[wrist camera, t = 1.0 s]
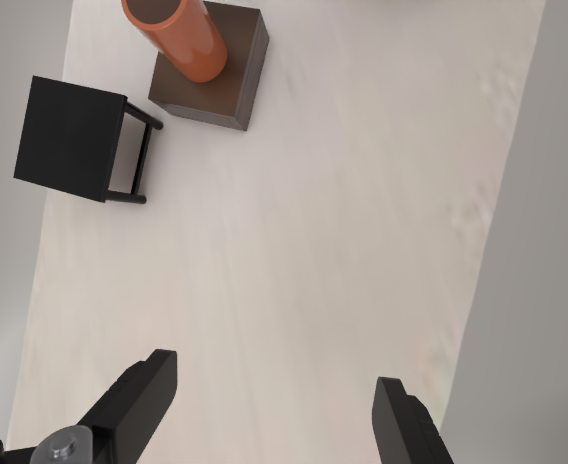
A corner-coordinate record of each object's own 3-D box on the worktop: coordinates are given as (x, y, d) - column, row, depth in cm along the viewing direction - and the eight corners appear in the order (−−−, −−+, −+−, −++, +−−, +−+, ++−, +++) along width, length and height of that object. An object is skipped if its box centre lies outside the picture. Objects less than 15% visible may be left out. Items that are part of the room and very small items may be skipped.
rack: (90, 104, 41) (32, 75, 33) (165, 121, 39) (124, 94, 31) (73, 186, 41) (13, 177, 34) (146, 206, 40) (101, 202, 32)
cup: (183, 23, 33) (128, -51, 24) (233, 32, 32) (196, -43, 23) (171, 77, 33) (113, 23, 24) (220, 87, 32) (178, 35, 23)
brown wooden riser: (191, 25, 38) (170, -5, 33) (269, 38, 36) (260, 9, 31) (170, 114, 39) (147, 98, 34) (246, 131, 37) (233, 117, 32)
